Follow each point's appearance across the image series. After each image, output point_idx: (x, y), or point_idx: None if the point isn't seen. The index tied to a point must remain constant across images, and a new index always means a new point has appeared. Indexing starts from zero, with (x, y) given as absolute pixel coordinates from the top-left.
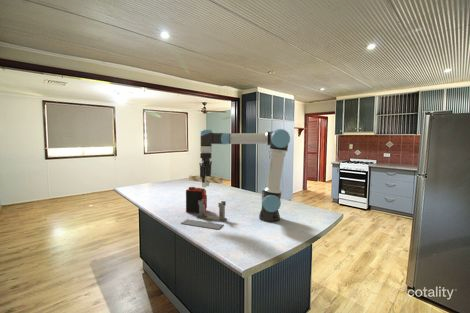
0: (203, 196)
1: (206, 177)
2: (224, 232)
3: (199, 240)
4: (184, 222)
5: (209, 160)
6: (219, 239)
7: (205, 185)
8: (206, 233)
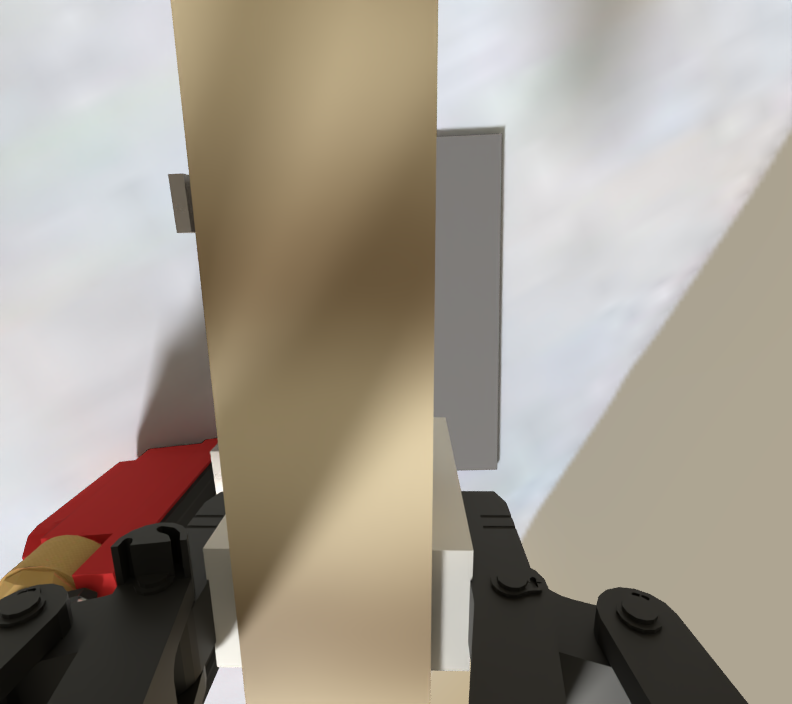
0: (131, 525)
1: (431, 546)
2: (532, 61)
3: (730, 178)
4: (478, 452)
5: None
6: (674, 35)
7: (447, 435)
8: (598, 194)
